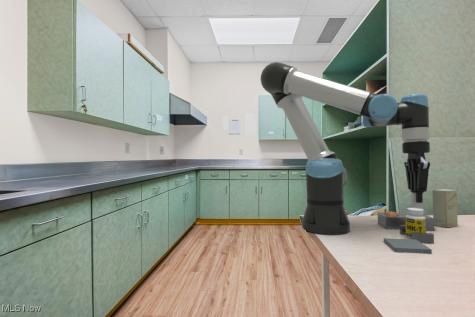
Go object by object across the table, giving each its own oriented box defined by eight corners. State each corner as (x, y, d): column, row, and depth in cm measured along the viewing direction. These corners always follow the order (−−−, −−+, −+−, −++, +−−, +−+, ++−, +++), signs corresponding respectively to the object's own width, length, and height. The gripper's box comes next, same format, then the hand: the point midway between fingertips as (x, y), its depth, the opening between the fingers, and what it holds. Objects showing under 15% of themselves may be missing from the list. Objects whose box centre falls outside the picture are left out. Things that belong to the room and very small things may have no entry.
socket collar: (434, 243, 69) (433, 234, 69) (414, 242, 70) (413, 233, 70) (417, 233, 78) (417, 225, 78) (399, 233, 79) (399, 225, 79)
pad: (394, 251, 63) (394, 247, 63) (383, 241, 71) (383, 238, 71) (431, 253, 61) (431, 249, 61) (416, 243, 69) (416, 239, 69)
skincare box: (447, 228, 84) (446, 190, 84) (432, 225, 88) (431, 189, 88) (458, 225, 86) (457, 189, 86) (443, 223, 90) (442, 188, 90)
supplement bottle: (404, 238, 74) (403, 209, 74) (407, 234, 77) (406, 206, 77) (424, 241, 70) (424, 211, 70) (427, 237, 74) (426, 208, 74)
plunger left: (387, 225, 86) (387, 213, 86) (384, 222, 89) (384, 211, 89) (398, 225, 85) (398, 213, 85) (394, 223, 88) (394, 211, 88)
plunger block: (385, 229, 84) (385, 217, 84) (377, 223, 91) (377, 212, 91) (434, 230, 81) (434, 218, 81) (422, 224, 88) (421, 213, 88)
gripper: (439, 139, 78) (441, 216, 78) (418, 142, 91) (420, 208, 91) (411, 140, 80) (414, 216, 80) (395, 143, 93) (397, 208, 92)
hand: (417, 212), depth 85 cm, fingers closed
